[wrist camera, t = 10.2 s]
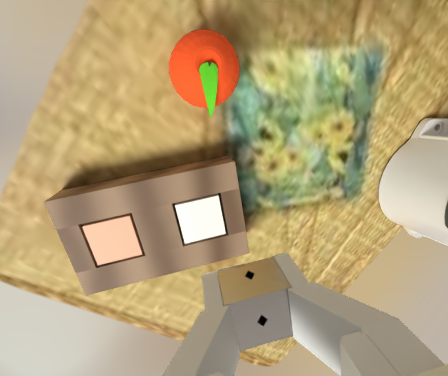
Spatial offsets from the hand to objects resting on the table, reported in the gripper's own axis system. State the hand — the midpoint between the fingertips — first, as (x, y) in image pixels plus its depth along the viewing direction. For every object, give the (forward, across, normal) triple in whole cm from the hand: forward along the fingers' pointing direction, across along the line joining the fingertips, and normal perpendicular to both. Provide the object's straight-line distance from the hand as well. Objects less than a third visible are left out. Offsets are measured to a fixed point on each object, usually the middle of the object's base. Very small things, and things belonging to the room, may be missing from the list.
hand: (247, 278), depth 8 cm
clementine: (+23, -2, -8) cm, 25 cm away
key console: (+23, +7, +6) cm, 25 cm away
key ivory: (+22, +2, +6) cm, 23 cm away
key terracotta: (+22, +12, +6) cm, 25 cm away
